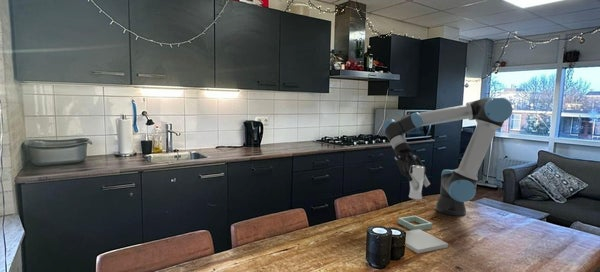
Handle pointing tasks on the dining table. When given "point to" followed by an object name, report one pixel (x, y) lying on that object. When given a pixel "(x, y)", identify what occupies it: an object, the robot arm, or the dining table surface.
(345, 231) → the dining table surface
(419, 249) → the tile board
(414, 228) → the green square frame
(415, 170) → the beer glass
